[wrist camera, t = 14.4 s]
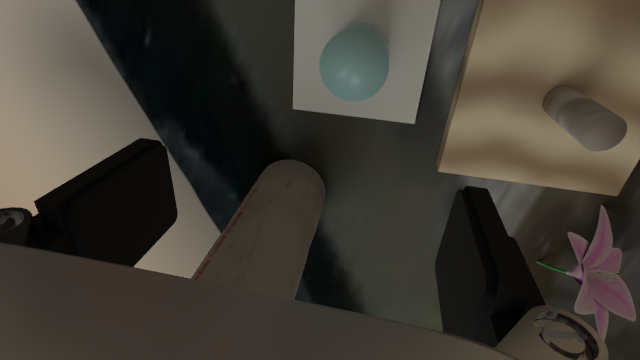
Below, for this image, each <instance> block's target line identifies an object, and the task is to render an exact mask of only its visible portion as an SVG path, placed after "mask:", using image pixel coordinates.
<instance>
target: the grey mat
mask: <svg viewBox="0 0 640 360" xmlns="http://www.w3.org/2000/svg"><path fill="white" fill-rule="evenodd" d="M440 1H441V0H295V31H294V79H293V109H297V110H305V111H313V112H322V113H330V114H338V115H346V116H354V117H362V118H371V119H379V120H387V121H395V122H403V123H411V124H414V123H415V119H416V114H417V109H418V105H419V100H420V95H421V91H422V86H423V81H424V77H425V72H426V67H427V62H428V58H429V53H430V48H431V44H432V39H433V34H434V30H435V25H436V20H437V16H438V11H439V6H440ZM352 22H357V23H369V24H376V26H377V27H378V28H379V30H380V31H381V33H382V34H383V35H384V37H385V38H386V39H387V41H388V42H389V53H388V55H389V72H388V76H387V79H386V81H385V83H384V85H383V86H382V88H381V89H380V90H379V91H378V92H377V93H376V94H374V95H373V96H371V97H370V98H368V99H365V100H361V101H346V100H343V99H340V98H338V97H336V96H335V95H333V94H332V93H331V92H330V91H329V90H328V89H327V87H326V86H325V85H324V83H323V81H322V78H321V75H320V69H319V63H320V57H321V53H322V51H323V49H324V47H325V45H326V44H327V43H328V41H329V40H330V39H331V38H332V37H333V36H335V35H336V34H337V33H339V32H341V31H343V30H344V29H345V28H346V27H347V26H348V25H349V24H351V23H352Z"/></svg>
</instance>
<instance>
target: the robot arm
mask: <svg viewBox="0 0 640 360" xmlns="http://www.w3.org/2000/svg"><path fill="white" fill-rule="evenodd" d="M34 203H35V205H36V208H37V210H38V212H39V213H38V214H37V215H35V216H34V217H33V216H32V214H31V212H30V211H28V210H27V209H24V208H15V207H11V208H3V209H0V360H608V356H609V353H608V350H607V347H606V344H605V343H604V341H603V340H602V338H601V337H600V335H599V334H598V333H597V332H596V331H595V330H594V329H593V328H592V327H591V326H590V325H589V324H587V323H586V322H585V321H583V320H582V319H580V318H579V317H577V316H575V315H574V314H572V313H570V312H568V311H566V310H563V309H560V308H557V307H552V306H546V304H545V302H544V300H543V298H542V296H541V294H540V291H539V289H538V287H537V285H536V283H535V281H534V278H533V276H532V274H531V272H530V270H529V268H528V266H527V263H526V261H525V259H524V257H523V255H522V253H521V250H520V248H519V246H518V244H517V242H516V240H515V239H514V238H513V237H510V236H508V234H507V232H506V229H505V227H504V225H503V223H502V220H501V218H500V216H499V214H498V211H497V209H496V207H495V205H494V202H493V200H492V198H491V195H490V193H489V191H488V189H485V188H478V187H472V186H466V187H465V188H464V190H458V191H457V192H456V195H455V199H454V202H453V205H452V208H451V212H450V215H449V218H448V221H447V225H446V228H445V231H444V234H443V238H442V241H441V244H440V248H439V251H438V254H437V257H436V262H435V272H436V280H437V287H438V295H439V302H440V310H441V317H442V325H443V332H441V331H437V330H432V329H428V328H424V327H420V326H416V325H412V324H407V323H403V322H399V321H394V320H389V319H384V318H379V317H375V316H370V315H365V314H360V313H355V312H351V311H346V310H341V309H336V308H331V307H327V306H322V305H317V304H312V303H307V302H302V301H298V300H293V299H288V298H283V297H278V296H273V295H268V294H263V293H258V292H253V291H248V290H243V289H239V288H234V287H229V286H224V285H219V284H214V283H209V282H204V281H199V280H194V279H188V278H184V277H179V276H174V275H169V274H164V273H159V272H154V271H149V270H144V269H139V268H134V265H135V264H136V263H137V262H138V261H139V260H140V259H141V258H142V257H143V256H144V255H145V254H146V253H147V252H148V251H149V250H150V248H151V247H152V246H153V245H154V244H155V243H156V242H157V241H158V240H159V239H160V238H161V237H162V235H163V234H165V232H166V231H167V230H168V229H169V228H170V227H171V226H172V225H173V224H174V223H175V221H176V219H177V207H176V201H175V195H174V189H173V183H172V178H171V172H170V166H169V160H168V155H167V150H166V147H165V146H163V145H162V143H161V142H160V141H158V140H150V139H144V138H140V139H138V140H136V141H135V142H133V143H131V144H130V145H128V146H126V147H125V148H123V149H121V150H120V151H118V152H116V153H114V154H113V155H111V156H109V157H108V158H106V159H104V160H103V161H101V162H99V163H98V164H96V165H94V166H93V167H91V168H89V169H88V170H86V171H84V172H83V173H81V174H79V175H78V176H76V177H74V178H73V179H71V180H69V181H68V182H66V183H64V184H62V185H61V186H59V187H58V188H56V189H54V190H52V191H51V192H49V193H47V194H46V195H44V196H42V197H41V198H39V199H37V200H36V201H34Z"/></svg>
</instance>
